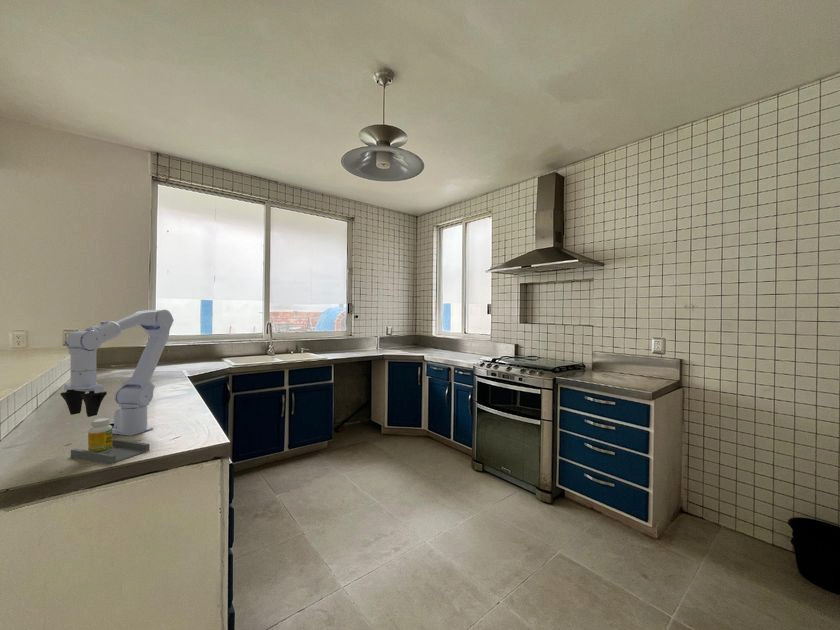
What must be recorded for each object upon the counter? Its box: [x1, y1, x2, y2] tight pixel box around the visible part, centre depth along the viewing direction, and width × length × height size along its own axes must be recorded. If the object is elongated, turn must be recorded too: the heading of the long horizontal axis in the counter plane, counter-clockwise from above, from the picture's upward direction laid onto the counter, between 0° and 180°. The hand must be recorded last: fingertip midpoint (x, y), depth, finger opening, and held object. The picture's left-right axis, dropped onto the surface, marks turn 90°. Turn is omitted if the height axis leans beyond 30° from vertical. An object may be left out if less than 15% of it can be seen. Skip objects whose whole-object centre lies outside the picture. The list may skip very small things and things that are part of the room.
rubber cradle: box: [70, 437, 151, 465], centre depth 103 cm, size 17×10×2 cm, turn 73°
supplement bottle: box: [87, 417, 113, 453], centre depth 104 cm, size 5×5×10 cm
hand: (83, 414), depth 106 cm, fingers open, 7 cm apart
